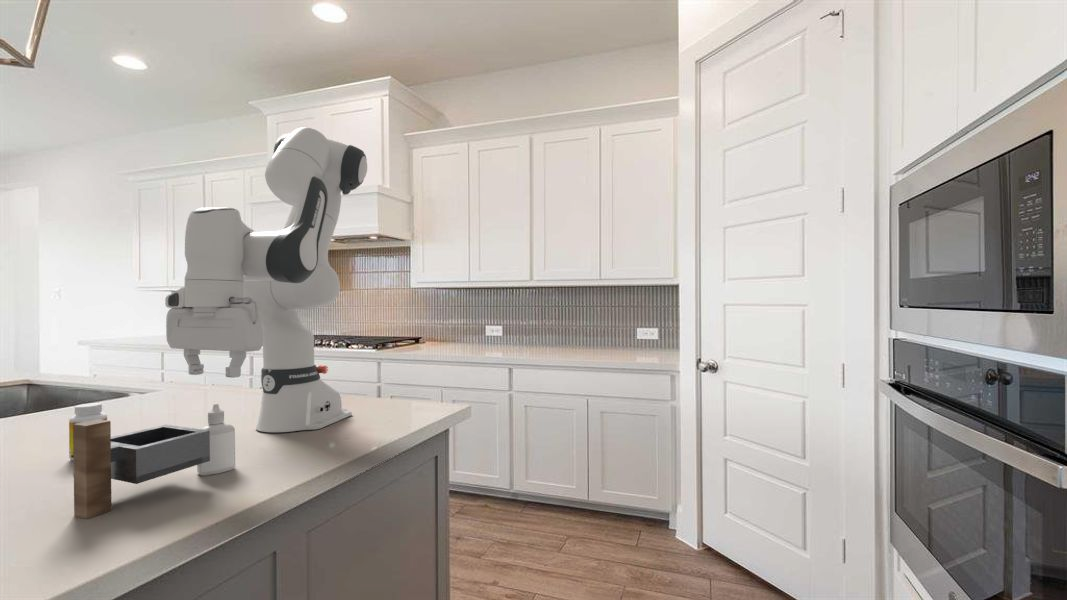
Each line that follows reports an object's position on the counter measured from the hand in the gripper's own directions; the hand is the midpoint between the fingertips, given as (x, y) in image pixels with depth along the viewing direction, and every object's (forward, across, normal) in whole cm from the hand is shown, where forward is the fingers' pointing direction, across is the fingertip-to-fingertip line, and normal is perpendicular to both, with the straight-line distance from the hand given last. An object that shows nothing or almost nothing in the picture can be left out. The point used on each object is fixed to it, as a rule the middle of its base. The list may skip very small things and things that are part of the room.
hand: (214, 375), depth 89 cm
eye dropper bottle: (+17, 0, -1) cm, 17 cm away
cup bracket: (+17, 0, +12) cm, 21 cm away
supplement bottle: (+17, +31, +3) cm, 36 cm away
